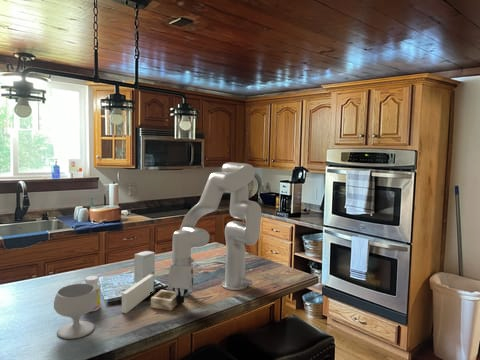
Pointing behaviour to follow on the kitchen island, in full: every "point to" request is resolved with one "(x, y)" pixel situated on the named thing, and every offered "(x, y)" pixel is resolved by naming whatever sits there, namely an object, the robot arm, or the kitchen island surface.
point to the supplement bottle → (93, 281)
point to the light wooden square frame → (164, 300)
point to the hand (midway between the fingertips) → (180, 303)
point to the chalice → (75, 309)
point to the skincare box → (144, 265)
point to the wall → (137, 293)
